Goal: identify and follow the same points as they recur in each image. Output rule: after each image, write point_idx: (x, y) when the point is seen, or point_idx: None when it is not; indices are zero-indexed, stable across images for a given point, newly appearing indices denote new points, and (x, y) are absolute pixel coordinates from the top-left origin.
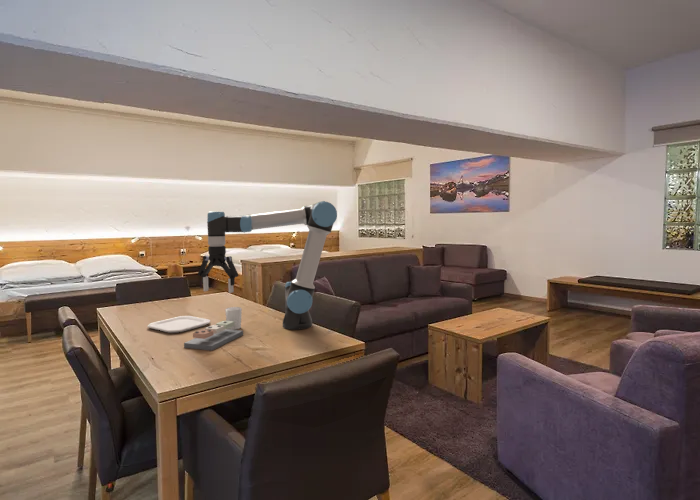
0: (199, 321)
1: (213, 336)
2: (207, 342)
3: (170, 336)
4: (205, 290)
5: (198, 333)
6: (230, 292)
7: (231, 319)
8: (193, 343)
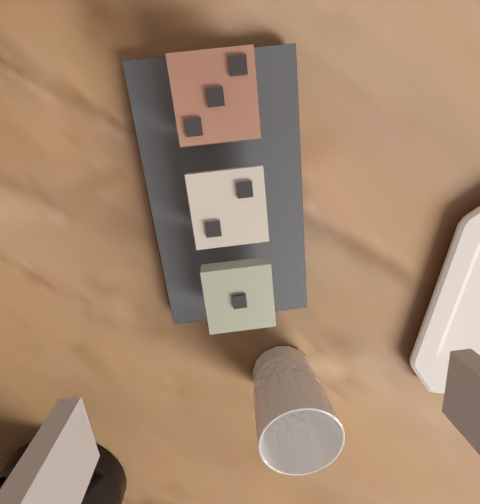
0: None
1: None
2: None
3: (468, 167)
4: (455, 368)
5: (215, 52)
6: (58, 411)
7: (278, 376)
8: None
